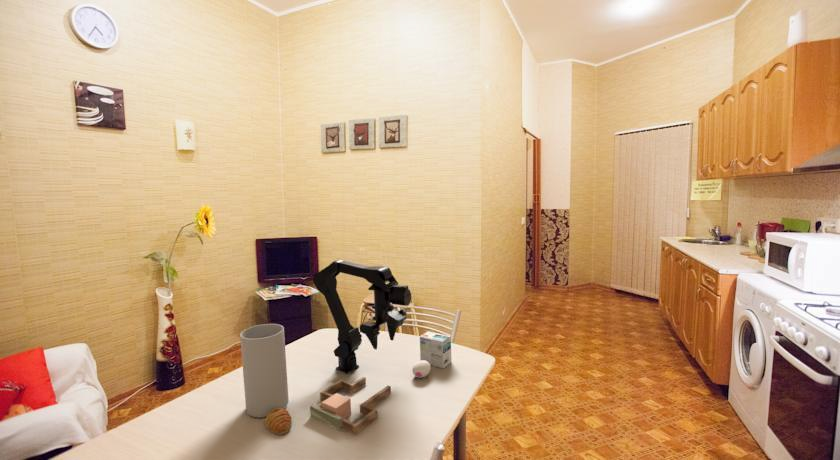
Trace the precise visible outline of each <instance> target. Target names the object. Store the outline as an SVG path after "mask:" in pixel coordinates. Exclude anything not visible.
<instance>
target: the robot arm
mask: <svg viewBox="0 0 840 460" xmlns="http://www.w3.org/2000/svg"><path fill="white" fill-rule="evenodd" d="M340 273H342V274H345V275H349V276H353V277H357V278H362V279H364V280H366V281H367V282H368V283H370V284H371V285H370V286H369V287H368V291H373V300H374V304H373V305H371V309H372V310H374V315H373V316H372V321H369V320H366V321H365V322H363V323H361V324H360V325H359V326H356V327H354V326H353V325H352V323H351V322H350V320H349V317H348V315H347V313H346V310H345V307H344V304H342V303H343V302H342V301H341V298H340V296H339V293H338V291H337V287H338V286H337V284H338V281H337V280H338V279H337V276H338V275H340ZM312 283H313V285H314V286H315V288H316V291H318V292H319V293H321V294H322V295H323V296H324V299H325V301H326V303H327V306H328V309H329V311H330V313H331V317H332V319H333V321H334V323H335V326H336V329H337V330H338V331H337V332H338V333H337V343H338V346H337V347H336V348H335V349H334V350H333V354H334V356H335V357H337V358H338V359H337V360H338V366H337V367H335V370H337V371H339V372H342V373H345V374H349V373H351V372H353V371H355V370H356V369H358V368H360V365H359V364H358V363H357V357H356V356H357V355H356V351H357V350H359V347H360V346H361V344H362V341H363V339H362V337H363V335H362V334H364V335H365V336H366V337H367V339H368V341H369V342H370V344H371V346H372V348H373V350H377V349H378V336H379V335H380V333H381V332H380V329H381V328H380V327H382V326H383V325H385V324H386V328H387V332H388V336H389V339H390V341H394V339H395V335H396V334H397V333H396V332H397V329H398V327H401V326H403V325H404V322H405V320H407V318H408V317H407V310H406V309H404V308H402V309H400V310H398V309H397V310H396V309H395V308H394V307H395V306H394V305H396V306H405V307H408V306H409V305H410V304H411V301H412V292H411V290H410V288H409V285H399V282H398V281H397V279H396V278H395V276H394V275H393V273H392V271H391V269H390V267H388V266H384V265H376V266H375V265H374V266H368V265H363V264H361V263H360V264H359V263H355V262H351V261H347V260H343V259H336V260H333V261H332V262H331V263H330V264H329V265H327V266H326V267H324V268H323V269H321V270H320V271H317V272H314V273H313V275H312ZM373 321H374V322H373Z"/></svg>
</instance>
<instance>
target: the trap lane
mask: <svg viewBox="0 0 840 460" xmlns="http://www.w3.org/2000/svg"><path fill="white" fill-rule="evenodd" d="M366 379H367V377H366V376H362V377H360V378H358V379H357V380H355V381H353V382H349V381H347V380H344V379H340V380H338V381H336V382H334V384H332V385H330V386H328V387H327V388H324V389H323V390H321V391H320V392H319V396H320V400H322V401H321V402H320V403H318V404H310V406H309V410H310V411H309V413H310V418H312V419H314V420H315V421H318V422H321V423H323V424H324V425H326V426H328V427H330V428H332V429H334V430H336V431H339V432H341V431H342V430H344V431H346V432H349V433H350V434H353V435H355V436H356V435H357V434H359V433H360V432H362V431H363V430H364V429H365V428H367V426H369V425H370V424H371V423H373V422H374V421H375V420H377V419H378V418H379V412H378V409H377V408H374V407H375V406H376V405H378V404H379V403H380V402H381V401H383V400H384V399H386V398H387V397H388V396H390V395H391V393H392V389H391V388H392V387H391V386H390V385H387V386H385V387H384V388H382V389H381V390H379V391H378V392H376V393H375V394H373V395H372V396H370V397H369V398H368V399H366V400H365V401H364V402H362V403H361V404H359V409H360V410H359V413H360V414H361V415H359V416H358V417H356V418H355V419H354V420H352V421H350V420H348V419H346V418H342V417H340V416H338V415H336V414H334V413H331V412H329V411H327V410H325V409H323V408H322V402H323V401H325V400H326V399H328V398H329V397H331V396H332V395H334V394H336V393H338V394H340V395H343V396H346V395H347V394H349V393H352V394H353V393H354V392H356V391H357V390H359V389H361V388H363V387H364V386H366V384H367V380H366Z"/></svg>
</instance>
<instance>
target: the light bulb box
mask: <svg viewBox="0 0 840 460" xmlns="http://www.w3.org/2000/svg"><path fill="white" fill-rule="evenodd" d="M419 349H420V350H419V352H420V353H419V354H420V355H419V358H420V359H419V361H421V360H425V361H427V362H429V364H430V366H432V367H433V366H434V367H436V368H440V369H445V367H446V368H447V366H448V365H450V364H451V363H452V336H451V335H448V334H443V333H436V332H433V331H429V330H428V331H426V332H425V333H423V334H421V335H420V336H419Z"/></svg>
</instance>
